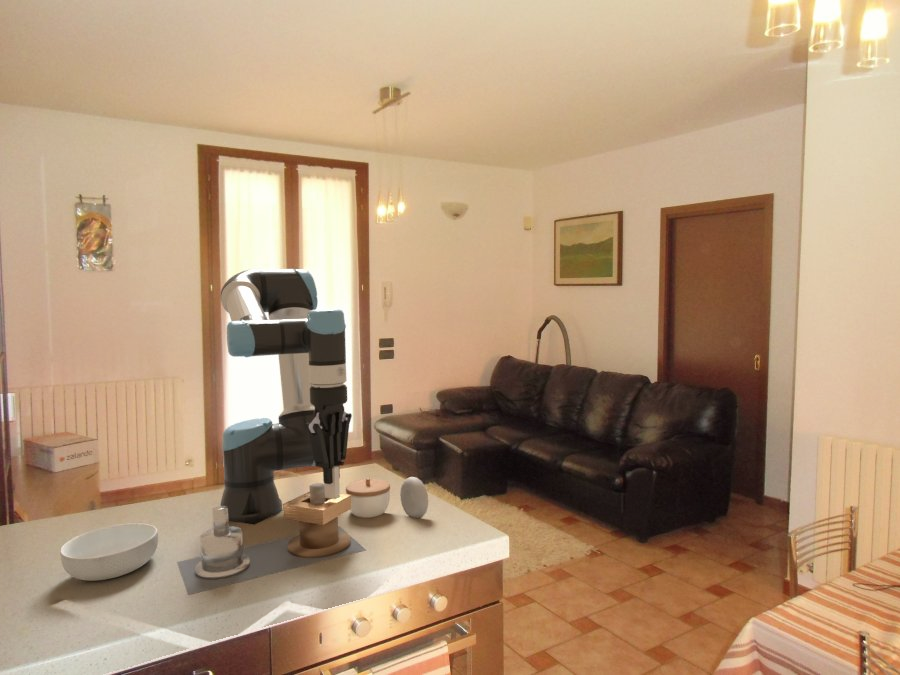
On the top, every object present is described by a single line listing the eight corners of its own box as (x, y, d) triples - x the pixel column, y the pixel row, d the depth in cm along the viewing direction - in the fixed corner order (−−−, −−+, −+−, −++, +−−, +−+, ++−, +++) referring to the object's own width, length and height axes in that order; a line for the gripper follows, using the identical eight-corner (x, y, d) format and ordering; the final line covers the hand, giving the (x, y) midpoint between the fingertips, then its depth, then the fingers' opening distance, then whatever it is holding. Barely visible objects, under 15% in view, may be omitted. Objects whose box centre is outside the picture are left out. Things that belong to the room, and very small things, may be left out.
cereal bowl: (97, 555, 128) (95, 522, 127) (175, 554, 127) (173, 521, 127) (40, 594, 111) (38, 557, 110) (129, 594, 110) (127, 556, 110)
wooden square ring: (283, 518, 124) (282, 504, 124) (313, 503, 133) (313, 489, 133) (323, 524, 120) (322, 510, 120) (351, 508, 129) (351, 494, 129)
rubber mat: (188, 601, 107) (188, 594, 107) (177, 567, 120) (177, 561, 120) (366, 555, 124) (366, 549, 124) (339, 530, 138) (338, 525, 138)
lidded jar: (337, 517, 146) (336, 479, 146) (371, 505, 154) (370, 469, 154) (365, 528, 139) (364, 488, 139) (400, 515, 147) (399, 477, 146)
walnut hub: (274, 552, 124) (271, 491, 123) (313, 529, 136) (311, 473, 135) (326, 562, 119) (324, 498, 118) (362, 537, 130) (360, 479, 130)
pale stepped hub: (183, 574, 115) (180, 513, 114) (223, 553, 124) (220, 497, 123) (222, 583, 111) (219, 520, 110) (260, 561, 120) (258, 503, 119)
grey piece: (431, 522, 142) (430, 481, 141) (419, 526, 140) (418, 483, 139) (410, 510, 150) (409, 471, 149) (398, 513, 148) (396, 473, 147)
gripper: (324, 390, 116) (328, 509, 117) (361, 381, 128) (364, 490, 129) (292, 388, 119) (297, 505, 121) (331, 379, 131) (335, 486, 132)
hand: (332, 497), depth 125 cm, fingers closed
